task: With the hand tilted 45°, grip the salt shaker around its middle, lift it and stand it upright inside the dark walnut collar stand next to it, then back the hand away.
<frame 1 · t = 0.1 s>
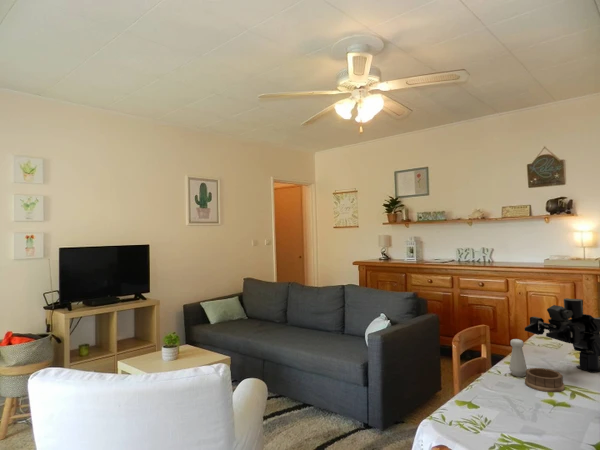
hand: (535, 332, 144), 17 cm above the table, tool horizontal, fingers open, 9 cm apart
salt shaker: (518, 375, 147), on the table
collar stand: (544, 385, 136), on the table
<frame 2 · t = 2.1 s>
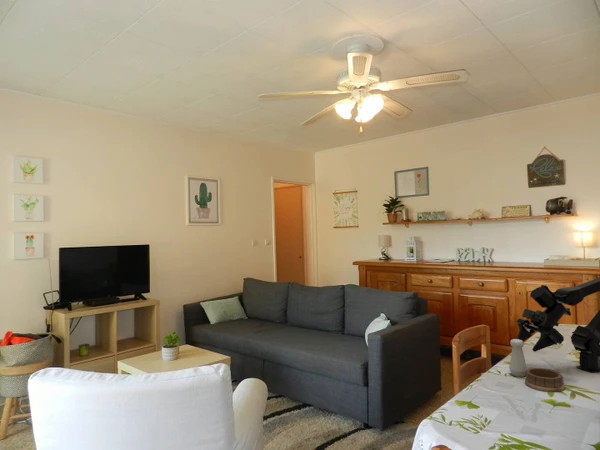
hand: (524, 347, 148), 10 cm above the table, tool tilted 45°, fingers open, 9 cm apart
nothing on the table moved.
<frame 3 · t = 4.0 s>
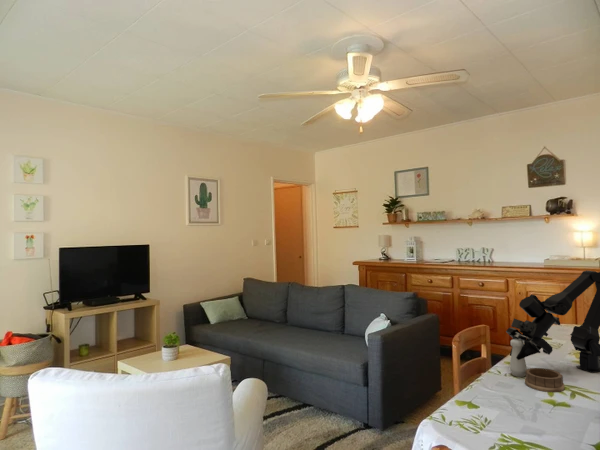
hand: (514, 357, 147), 7 cm above the table, tool tilted 45°, fingers closed on salt shaker, 3 cm apart
salt shaker: (518, 375, 147), on the table, touching gripper
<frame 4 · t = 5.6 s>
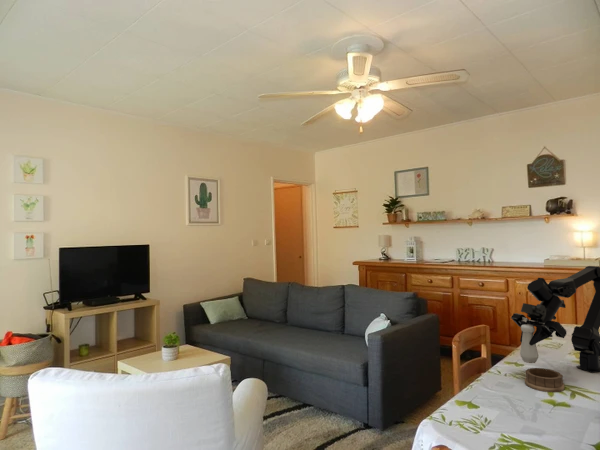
hand: (525, 343, 141), 13 cm above the table, tool tilted 45°, fingers closed on salt shaker, 3 cm apart
salt shaker: (529, 362, 142), point 6 cm above the table, touching gripper
when the fingers open (8 cm above the table, at t = 7.4 s): salt shaker stays where it is, resting on collar stand.
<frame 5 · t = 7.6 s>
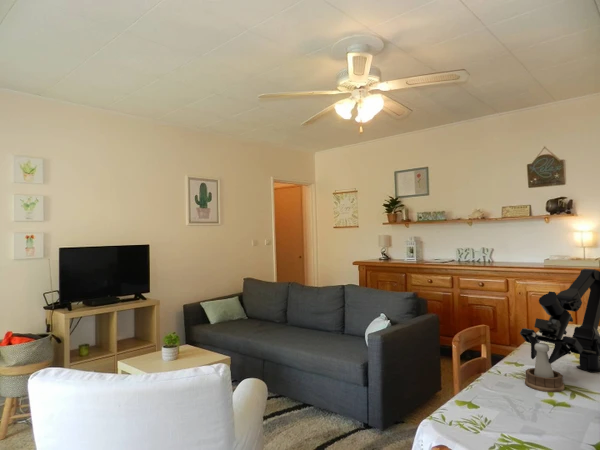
hand: (540, 360, 136), 9 cm above the table, tool tilted 45°, fingers open, 6 cm apart
salt shaker: (544, 382, 137), point 1 cm above the table, touching collar stand
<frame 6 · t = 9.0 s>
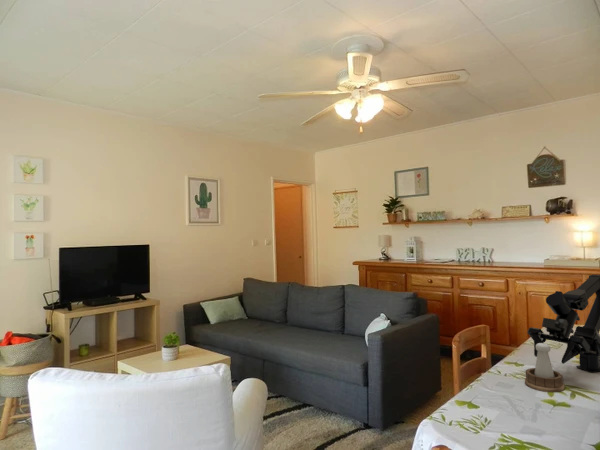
hand: (548, 359, 138), 8 cm above the table, tool tilted 45°, fingers open, 9 cm apart
nothing on the table moved.
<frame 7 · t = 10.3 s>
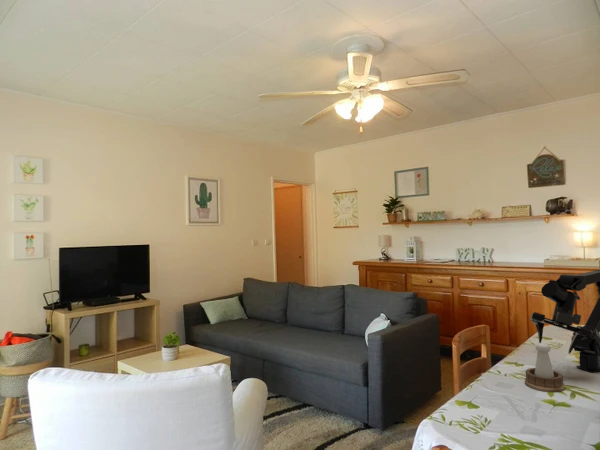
hand: (554, 348, 143), 11 cm above the table, tool tilted 25°, fingers open, 9 cm apart
nothing on the table moved.
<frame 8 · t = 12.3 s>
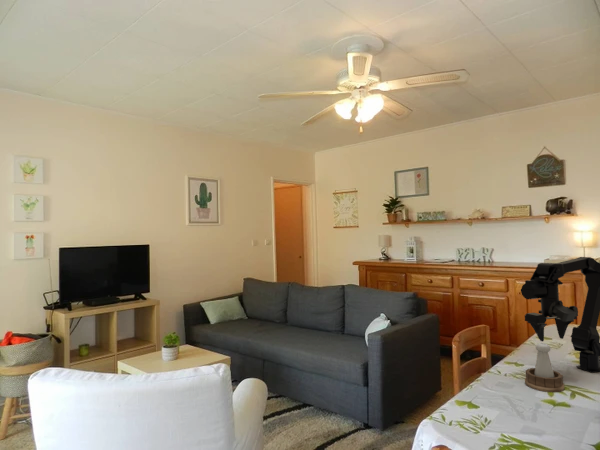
hand: (551, 339, 146), 13 cm above the table, tool pointing down, fingers open, 9 cm apart
nothing on the table moved.
at the end: salt shaker 0.3 cm off-centre on the collar stand, point 1.0 cm above the collar stand's base; salt shaker tilted 0°; the gripper is holding nothing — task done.
